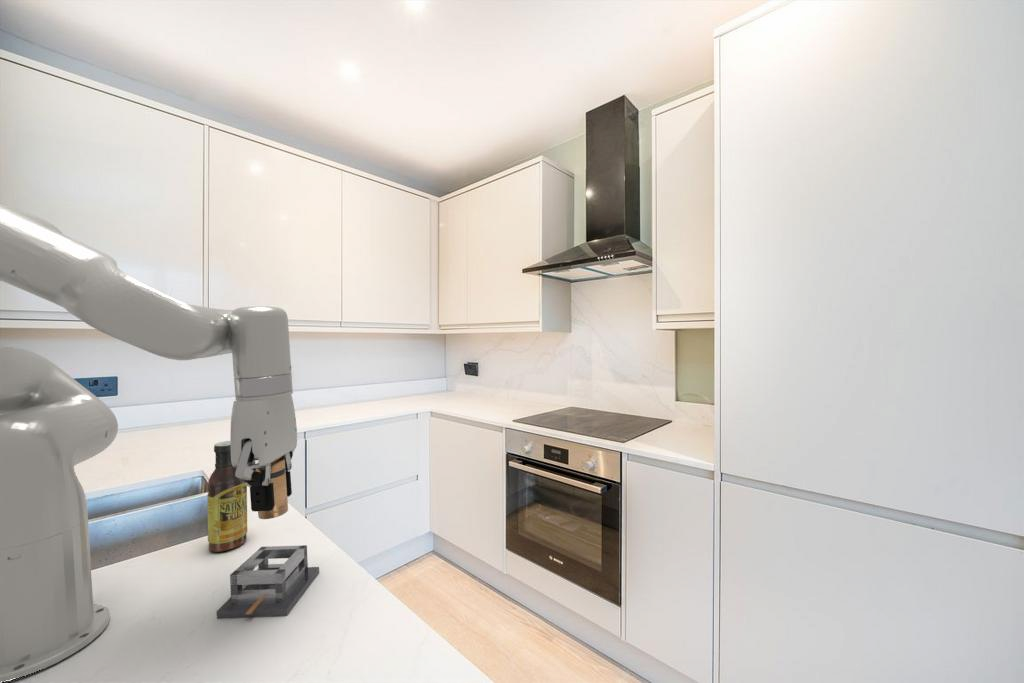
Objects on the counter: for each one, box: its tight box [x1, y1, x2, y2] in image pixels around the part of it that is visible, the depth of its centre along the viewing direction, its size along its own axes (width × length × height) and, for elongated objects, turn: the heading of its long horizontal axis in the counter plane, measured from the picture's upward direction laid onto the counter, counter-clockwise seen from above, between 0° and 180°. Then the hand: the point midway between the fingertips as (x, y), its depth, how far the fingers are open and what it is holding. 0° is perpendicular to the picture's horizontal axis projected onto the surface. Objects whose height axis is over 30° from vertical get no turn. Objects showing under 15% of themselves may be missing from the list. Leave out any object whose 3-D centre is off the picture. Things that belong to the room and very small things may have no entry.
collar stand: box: [216, 544, 320, 619], centre depth 61 cm, size 10×11×6 cm
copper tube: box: [256, 458, 289, 520], centre depth 61 cm, size 4×4×8 cm
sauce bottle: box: [206, 440, 248, 553], centre depth 76 cm, size 7×6×20 cm
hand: (272, 501), depth 61 cm, fingers closed on copper tube, 4 cm apart
